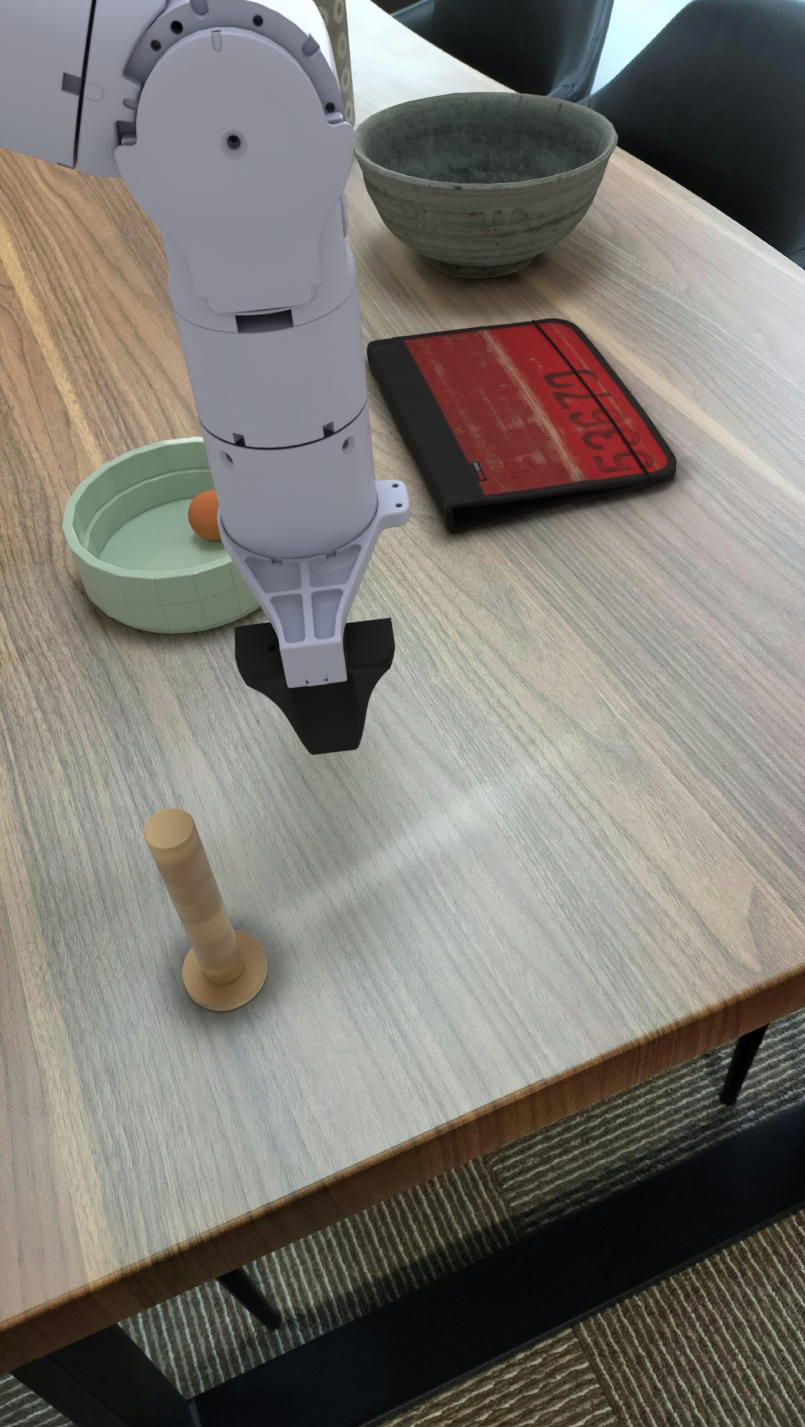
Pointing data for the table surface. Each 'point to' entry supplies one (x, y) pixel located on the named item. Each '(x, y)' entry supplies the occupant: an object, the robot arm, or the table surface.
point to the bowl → (483, 175)
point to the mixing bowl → (153, 542)
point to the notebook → (516, 419)
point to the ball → (205, 515)
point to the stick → (204, 917)
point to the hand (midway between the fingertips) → (327, 678)
